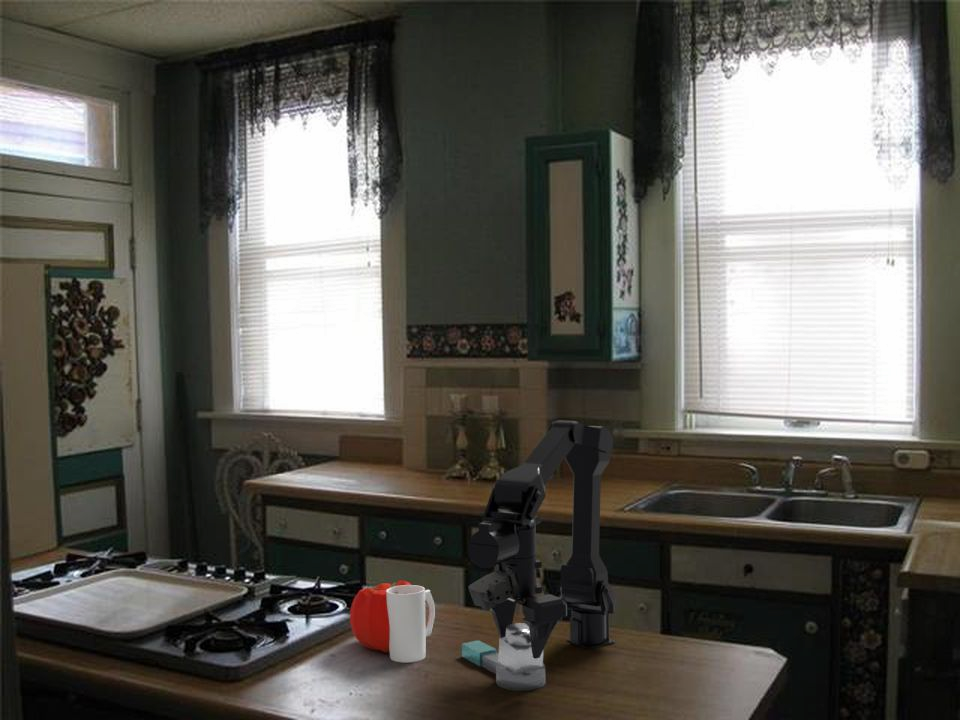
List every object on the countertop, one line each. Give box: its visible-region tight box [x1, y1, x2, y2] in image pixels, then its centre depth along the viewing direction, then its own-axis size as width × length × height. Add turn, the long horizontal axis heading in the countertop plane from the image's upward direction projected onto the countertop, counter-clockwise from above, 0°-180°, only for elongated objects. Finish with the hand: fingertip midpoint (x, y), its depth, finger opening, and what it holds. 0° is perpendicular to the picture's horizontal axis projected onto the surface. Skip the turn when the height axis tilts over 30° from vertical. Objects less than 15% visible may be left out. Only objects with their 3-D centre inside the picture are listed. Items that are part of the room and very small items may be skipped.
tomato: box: [349, 580, 412, 654], centre depth 182 cm, size 13×14×12 cm
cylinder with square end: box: [498, 622, 545, 674], centre depth 163 cm, size 5×5×6 cm
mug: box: [386, 584, 436, 663], centre depth 178 cm, size 10×7×12 cm, turn 136°
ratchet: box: [461, 639, 546, 692], centre depth 169 cm, size 20×8×6 cm, turn 31°
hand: (520, 650), depth 164 cm, fingers open, 9 cm apart
